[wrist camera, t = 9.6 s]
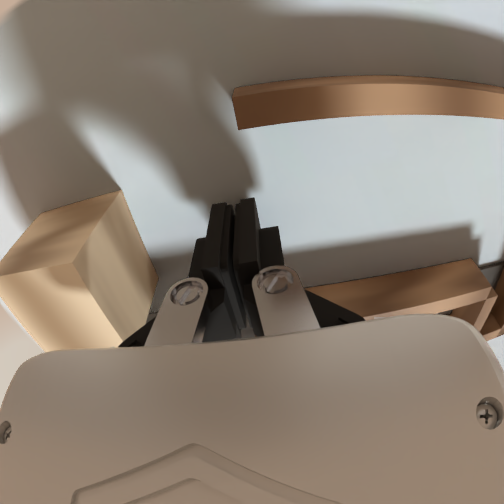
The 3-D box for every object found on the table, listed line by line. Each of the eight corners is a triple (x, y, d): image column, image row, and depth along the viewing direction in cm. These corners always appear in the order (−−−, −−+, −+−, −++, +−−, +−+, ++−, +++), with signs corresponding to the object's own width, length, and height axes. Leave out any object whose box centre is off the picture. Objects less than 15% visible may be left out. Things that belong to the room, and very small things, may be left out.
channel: (547, 98, 8) (579, 113, 6) (490, 309, 18) (504, 333, 16) (207, 93, 10) (197, 104, 8) (268, 358, 19) (270, 391, 17)
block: (122, 189, 12) (72, 262, 8) (159, 276, 15) (136, 359, 11) (41, 212, 13) (-13, 278, 9) (82, 286, 16) (50, 357, 12)
